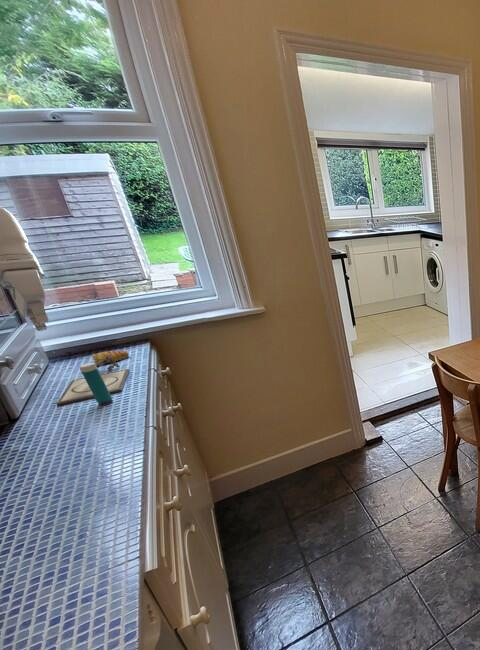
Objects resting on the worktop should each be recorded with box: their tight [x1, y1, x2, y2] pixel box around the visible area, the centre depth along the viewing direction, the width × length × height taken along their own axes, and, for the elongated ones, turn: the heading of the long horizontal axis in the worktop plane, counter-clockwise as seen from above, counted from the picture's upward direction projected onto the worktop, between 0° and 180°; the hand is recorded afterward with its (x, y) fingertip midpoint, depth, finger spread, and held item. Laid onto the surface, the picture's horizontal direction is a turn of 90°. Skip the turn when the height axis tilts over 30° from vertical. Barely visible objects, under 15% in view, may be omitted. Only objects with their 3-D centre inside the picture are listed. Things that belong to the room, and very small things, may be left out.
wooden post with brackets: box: [95, 356, 120, 371], centre depth 140 cm, size 2×8×4 cm, turn 107°
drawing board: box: [56, 368, 130, 407], centre depth 128 cm, size 14×20×1 cm
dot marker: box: [78, 362, 114, 407], centre depth 115 cm, size 3×3×12 cm
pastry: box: [92, 350, 130, 365], centre depth 147 cm, size 9×7×4 cm
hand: (43, 326), depth 102 cm, fingers open, 8 cm apart
